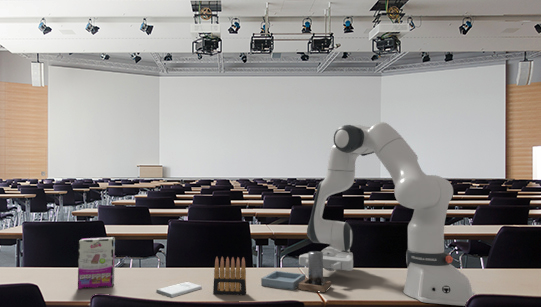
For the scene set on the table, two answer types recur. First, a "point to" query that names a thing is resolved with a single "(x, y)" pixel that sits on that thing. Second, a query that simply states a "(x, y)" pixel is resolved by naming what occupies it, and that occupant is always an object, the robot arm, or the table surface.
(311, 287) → the stop seat
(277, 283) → the tray
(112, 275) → the candy bar box
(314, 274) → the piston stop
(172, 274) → the table surface
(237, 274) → the ammunition clip
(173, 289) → the external hard drive
